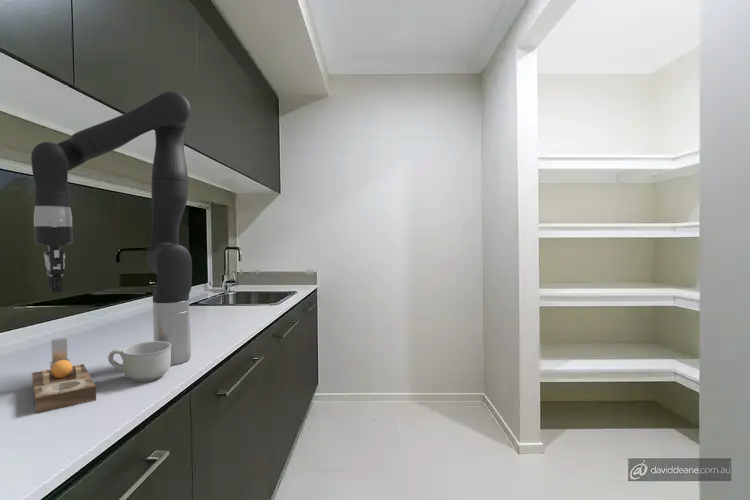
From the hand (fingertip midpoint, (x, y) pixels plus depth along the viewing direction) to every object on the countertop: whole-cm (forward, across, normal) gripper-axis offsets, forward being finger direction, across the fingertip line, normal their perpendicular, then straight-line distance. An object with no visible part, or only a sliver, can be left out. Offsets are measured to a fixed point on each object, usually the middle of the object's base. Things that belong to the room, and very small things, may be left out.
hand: (55, 290), depth 102 cm
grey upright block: (+19, +7, 0) cm, 20 cm away
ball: (+17, +12, 0) cm, 21 cm away
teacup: (+22, +15, +16) cm, 31 cm away
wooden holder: (+22, +14, 0) cm, 26 cm away
